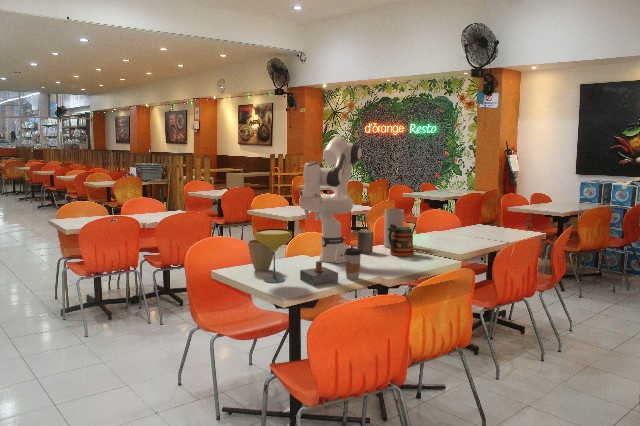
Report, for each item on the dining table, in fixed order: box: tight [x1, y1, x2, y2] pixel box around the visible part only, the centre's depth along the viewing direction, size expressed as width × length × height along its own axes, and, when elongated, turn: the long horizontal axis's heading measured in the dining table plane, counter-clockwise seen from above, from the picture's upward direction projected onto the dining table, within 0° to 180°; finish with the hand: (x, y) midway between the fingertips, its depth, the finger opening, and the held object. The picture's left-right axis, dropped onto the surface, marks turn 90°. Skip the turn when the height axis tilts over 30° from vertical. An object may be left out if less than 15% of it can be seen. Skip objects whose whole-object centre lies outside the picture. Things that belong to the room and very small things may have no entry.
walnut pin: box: [315, 260, 323, 273], centre depth 266 cm, size 3×3×10 cm
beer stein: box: [388, 224, 415, 257], centre depth 329 cm, size 19×15×20 cm
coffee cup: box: [344, 247, 362, 281], centre depth 271 cm, size 8×8×15 cm
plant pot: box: [247, 238, 274, 273], centre depth 288 cm, size 15×15×16 cm
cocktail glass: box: [255, 228, 293, 284], centre depth 266 cm, size 18×18×25 cm
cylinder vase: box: [383, 208, 405, 249], centre depth 354 cm, size 12×12×25 cm
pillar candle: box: [357, 229, 374, 255], centre depth 336 cm, size 10×10×15 cm
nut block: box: [299, 266, 339, 287], centre depth 266 cm, size 14×14×5 cm
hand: (311, 219), depth 280 cm, fingers open, 8 cm apart
